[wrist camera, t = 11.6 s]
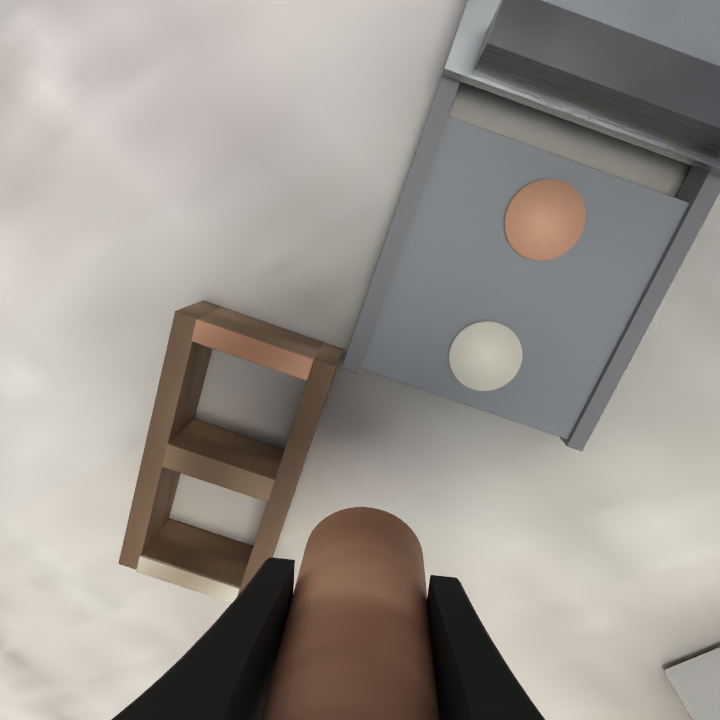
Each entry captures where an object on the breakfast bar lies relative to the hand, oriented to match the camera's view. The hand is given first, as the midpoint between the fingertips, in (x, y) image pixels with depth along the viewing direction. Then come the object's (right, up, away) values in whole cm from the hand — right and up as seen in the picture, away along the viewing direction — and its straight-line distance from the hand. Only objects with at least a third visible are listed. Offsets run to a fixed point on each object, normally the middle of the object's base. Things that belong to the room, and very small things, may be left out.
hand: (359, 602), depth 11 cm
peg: (0, 0, +2) cm, 2 cm away
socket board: (-5, +2, +9) cm, 10 cm away
